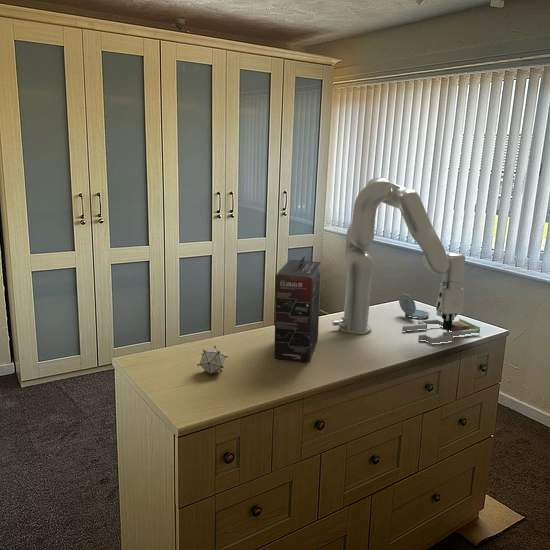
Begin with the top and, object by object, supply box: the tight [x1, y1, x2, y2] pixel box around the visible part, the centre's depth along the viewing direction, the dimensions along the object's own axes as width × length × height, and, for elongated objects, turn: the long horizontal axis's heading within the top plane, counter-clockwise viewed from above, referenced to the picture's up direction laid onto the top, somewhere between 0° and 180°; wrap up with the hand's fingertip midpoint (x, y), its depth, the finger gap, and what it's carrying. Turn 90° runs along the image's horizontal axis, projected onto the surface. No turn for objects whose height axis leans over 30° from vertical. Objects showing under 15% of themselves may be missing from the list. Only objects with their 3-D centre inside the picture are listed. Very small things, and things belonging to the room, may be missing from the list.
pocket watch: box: [398, 293, 430, 318], centre depth 224 cm, size 10×11×15 cm
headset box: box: [273, 255, 322, 364], centre depth 177 cm, size 24×13×33 cm, turn 168°
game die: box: [196, 345, 229, 377], centre depth 158 cm, size 9×8×10 cm
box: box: [401, 318, 481, 344], centre depth 202 cm, size 28×20×4 cm
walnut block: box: [450, 320, 470, 331], centre depth 204 cm, size 6×6×4 cm
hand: (446, 329), depth 203 cm, fingers closed
